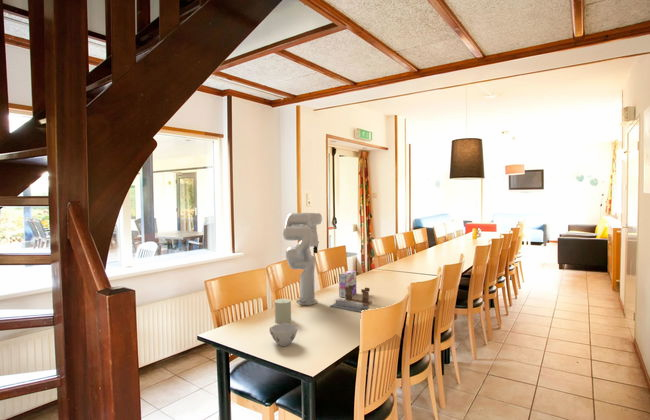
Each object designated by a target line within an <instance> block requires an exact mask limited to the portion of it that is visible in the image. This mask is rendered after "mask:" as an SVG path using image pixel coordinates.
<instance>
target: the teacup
mask: <svg viewBox="0 0 650 420" xmlns="http://www.w3.org/2000/svg"><path fill="white" fill-rule="evenodd" d="M297 331H298V326H297V325H296V324H293V323H283V324H275V325H273V326H271V327H269V334H270V336H271V337H272V339H273V340H274V342H275V343H276V344H277V345H278V346H280V347H286V346H290V345H291V343H292V342H293V341H294V340H295V338H296V335H297Z"/></svg>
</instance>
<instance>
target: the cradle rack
mask: <svg viewBox="0 0 650 420" xmlns="http://www.w3.org/2000/svg"><path fill="white" fill-rule="evenodd" d="M352 289H353V286H352V285H348V287H345V290H346V298H344V300H347V301H353V302H359V303H363V306H368V307H369V305H371V304H373V301H371V300H370V298H369V297H370V296H369V294H370V287H364V289H363V288H362V289H360V291H361V294H362V297H361V298H362V299H360V298H354V297H353V295H352Z"/></svg>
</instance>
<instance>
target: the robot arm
mask: <svg viewBox="0 0 650 420" xmlns="http://www.w3.org/2000/svg"><path fill="white" fill-rule="evenodd" d="M322 221H323V217H322V214H321V213H320V212H318V213H315V212H293V213H292V212H291V213H289V214H288V215H287V216H286V220H285V221H284V226H283V233H282V236H283V238H284V240H286V241H299V242H298V243H296V246H290V247H287V249H286V251H285V258H286V262H287V264H288V266H289V268H290V269H292V270H303V271H302V272H301V273H300V274H299V275H300V276H299V298H298V299H296V300H295V301H296V303H297V304H299V305H301V306H312V305H316V304H317V303H318V300H317V299H316V298H315V297H316V295H315V267H316V258H315V256H314V255H313V254H318V248H319V243H320V241H319V235H318V230H317V226H318V225H321V223H322ZM311 247H313V248H312V249H313V250H312V251H313V254H312V252H311V249H310V248H311Z"/></svg>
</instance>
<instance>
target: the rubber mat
mask: <svg viewBox="0 0 650 420" xmlns="http://www.w3.org/2000/svg"><path fill="white" fill-rule="evenodd" d="M329 308H334V309H337V310H338V309H340V310H345V311H349V312H355V313H360V314H361V313H362V312H361V311H362V310H364V311H366V310H368V309H369V308H370V307H369V305H368V306H363V308H362V309H356V308H351V307H345V306H340V305H336V302H334V303H333V304H331V305H329ZM365 309H366V310H365Z"/></svg>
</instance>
